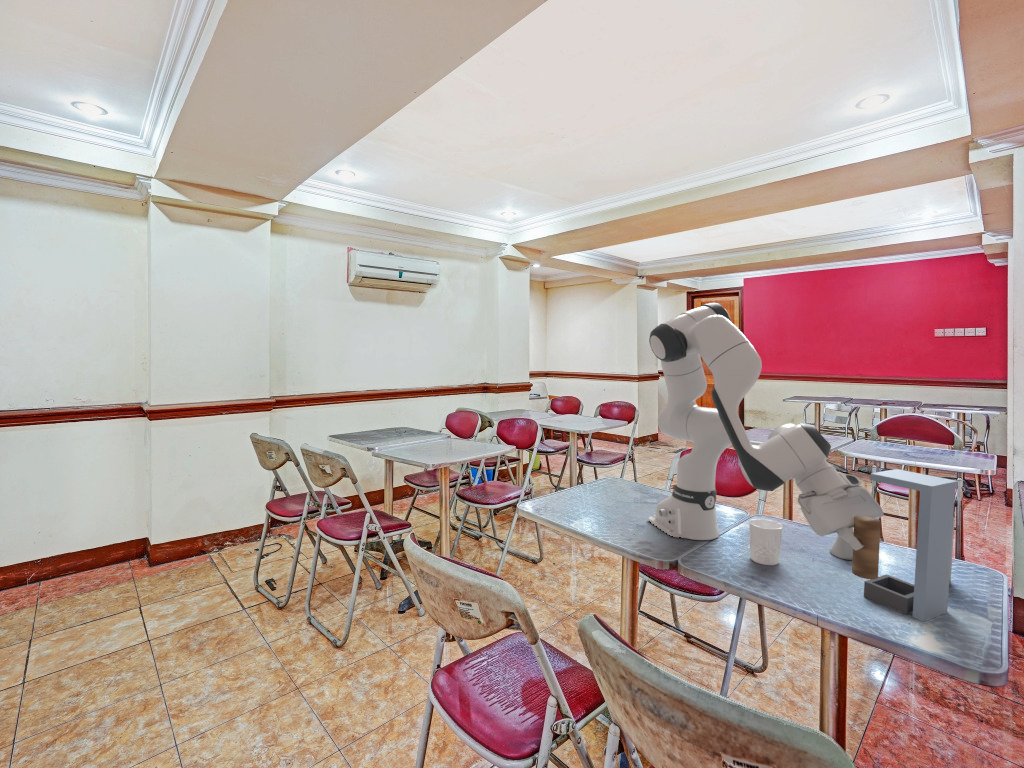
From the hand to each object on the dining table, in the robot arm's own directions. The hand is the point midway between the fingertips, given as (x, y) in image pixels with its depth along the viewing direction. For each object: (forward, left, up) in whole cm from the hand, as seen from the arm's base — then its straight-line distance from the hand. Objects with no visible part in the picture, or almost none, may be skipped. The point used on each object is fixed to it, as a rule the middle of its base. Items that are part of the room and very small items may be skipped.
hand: (869, 546), depth 103 cm
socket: (-1, +12, -15) cm, 19 cm away
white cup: (-28, +4, -15) cm, 32 cm away
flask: (-21, +27, -15) cm, 37 cm away
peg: (-1, 0, -6) cm, 6 cm away
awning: (+1, +13, -15) cm, 20 cm away
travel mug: (-3, +32, -15) cm, 35 cm away
